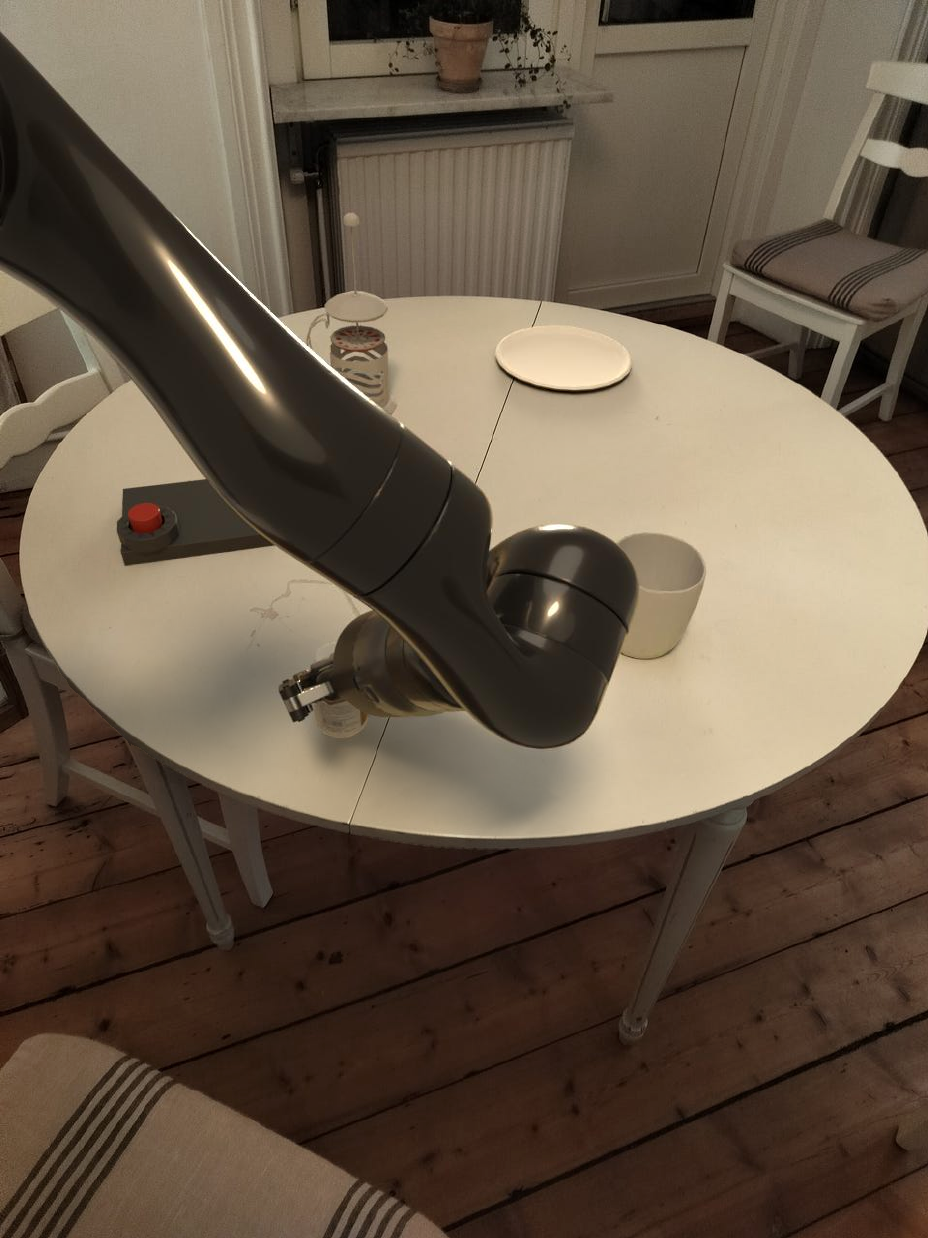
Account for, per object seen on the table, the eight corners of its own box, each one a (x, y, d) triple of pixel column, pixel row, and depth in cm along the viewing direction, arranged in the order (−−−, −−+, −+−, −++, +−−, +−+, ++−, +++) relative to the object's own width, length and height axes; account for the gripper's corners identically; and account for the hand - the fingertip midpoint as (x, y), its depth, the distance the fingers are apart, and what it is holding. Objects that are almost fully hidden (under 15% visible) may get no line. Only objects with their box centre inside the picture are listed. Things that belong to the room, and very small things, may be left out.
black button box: (124, 569, 89) (115, 543, 86) (126, 501, 97) (118, 476, 95) (276, 548, 92) (272, 522, 90) (265, 484, 101) (261, 459, 98)
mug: (696, 665, 81) (722, 588, 74) (608, 673, 80) (626, 596, 73) (654, 580, 90) (673, 505, 84) (575, 587, 89) (588, 511, 82)
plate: (506, 325, 135) (507, 317, 135) (634, 340, 133) (636, 333, 132) (483, 385, 121) (483, 377, 120) (627, 404, 118) (628, 396, 117)
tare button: (131, 535, 88) (127, 522, 86) (131, 518, 90) (127, 504, 89) (163, 531, 88) (159, 518, 87) (162, 514, 91) (159, 501, 89)
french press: (394, 423, 112) (388, 229, 95) (307, 419, 112) (287, 224, 95) (399, 387, 119) (395, 201, 102) (318, 384, 119) (301, 197, 102)
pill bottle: (376, 728, 70) (374, 665, 65) (328, 747, 68) (321, 684, 63) (355, 693, 73) (351, 630, 68) (308, 710, 71) (300, 647, 66)
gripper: (472, 565, 57) (380, 599, 72) (286, 651, 50) (228, 668, 65) (516, 665, 58) (415, 677, 73) (338, 762, 51) (268, 754, 66)
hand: (327, 673), depth 69 cm, fingers closed on pill bottle, 4 cm apart
